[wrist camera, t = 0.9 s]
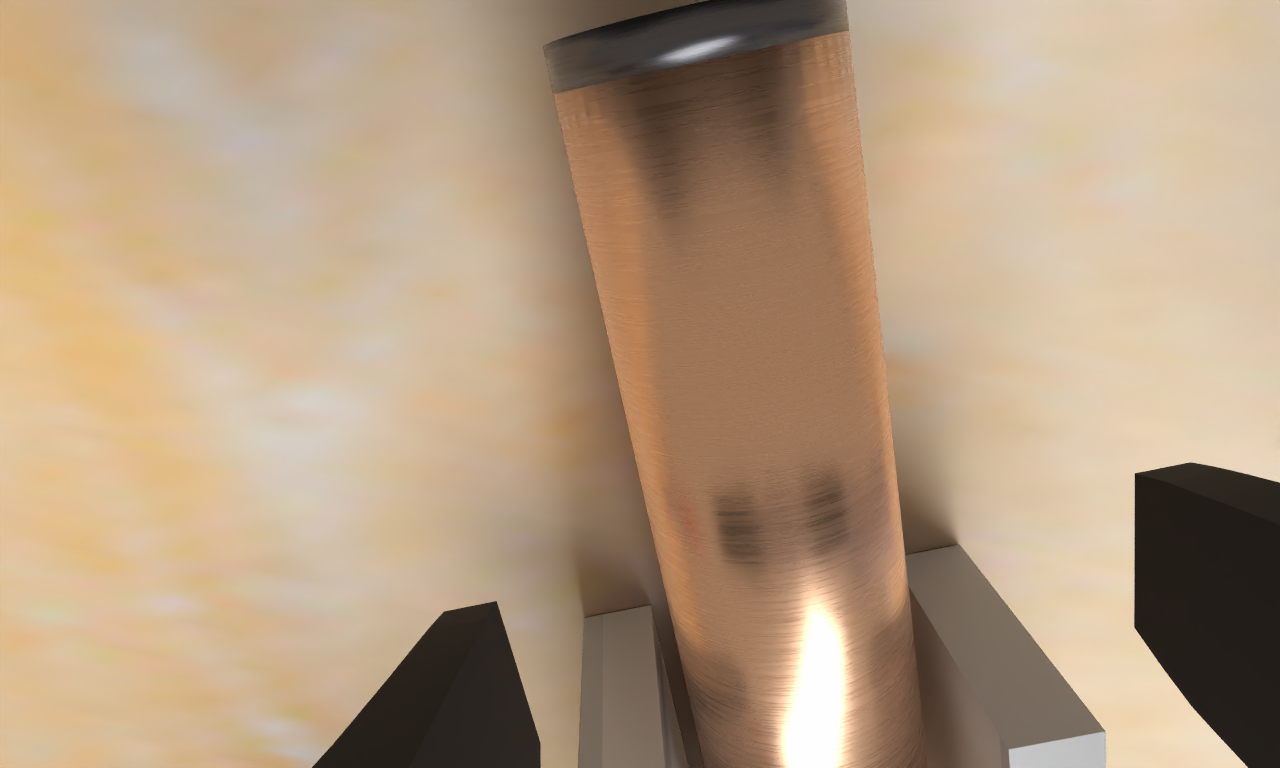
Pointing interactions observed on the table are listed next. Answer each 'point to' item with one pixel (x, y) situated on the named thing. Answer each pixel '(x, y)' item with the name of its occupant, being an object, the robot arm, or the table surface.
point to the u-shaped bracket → (947, 672)
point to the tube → (751, 368)
